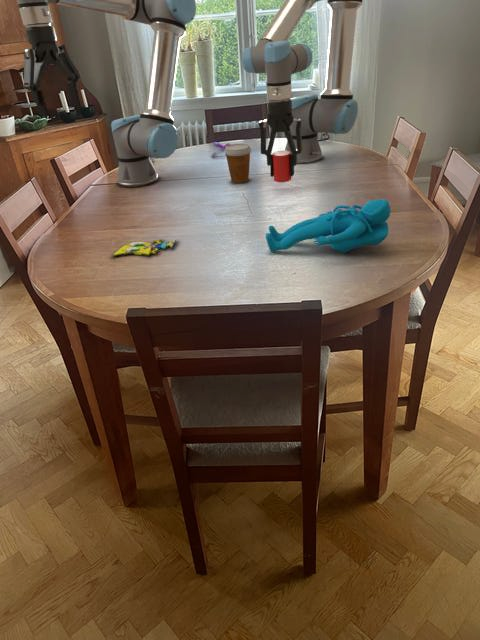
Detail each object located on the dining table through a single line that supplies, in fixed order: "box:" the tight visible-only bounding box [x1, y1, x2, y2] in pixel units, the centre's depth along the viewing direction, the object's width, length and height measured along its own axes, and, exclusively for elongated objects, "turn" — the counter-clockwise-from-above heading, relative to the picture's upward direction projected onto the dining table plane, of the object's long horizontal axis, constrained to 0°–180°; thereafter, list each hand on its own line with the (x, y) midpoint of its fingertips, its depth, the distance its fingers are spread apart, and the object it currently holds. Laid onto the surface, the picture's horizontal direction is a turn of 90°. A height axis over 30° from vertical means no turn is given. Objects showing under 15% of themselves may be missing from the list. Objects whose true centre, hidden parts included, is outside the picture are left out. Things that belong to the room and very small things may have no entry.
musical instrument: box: [211, 141, 233, 158], centre depth 212 cm, size 24×2×20 cm
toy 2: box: [265, 198, 392, 254], centre depth 118 cm, size 17×11×30 cm
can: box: [272, 150, 292, 183], centre depth 158 cm, size 6×6×9 cm
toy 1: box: [112, 238, 177, 258], centre depth 129 cm, size 10×1×15 cm
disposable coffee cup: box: [223, 142, 252, 184], centre depth 171 cm, size 10×10×12 cm
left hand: (61, 111), depth 140 cm, fingers open, 13 cm apart
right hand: (282, 174), depth 159 cm, fingers closed on can, 6 cm apart
